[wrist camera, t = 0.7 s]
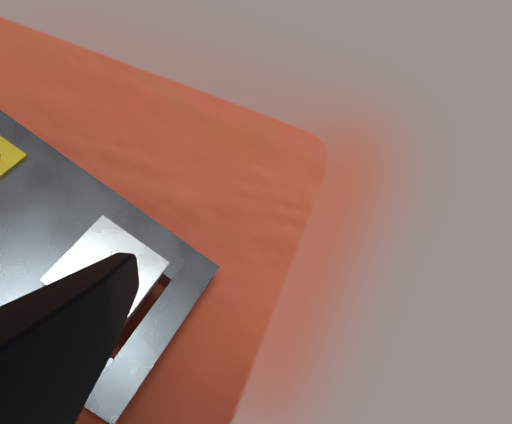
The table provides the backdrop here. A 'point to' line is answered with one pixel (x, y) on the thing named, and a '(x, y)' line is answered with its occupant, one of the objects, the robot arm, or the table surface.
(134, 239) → the grey metal block
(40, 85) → the table surface
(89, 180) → the grey board with holes
